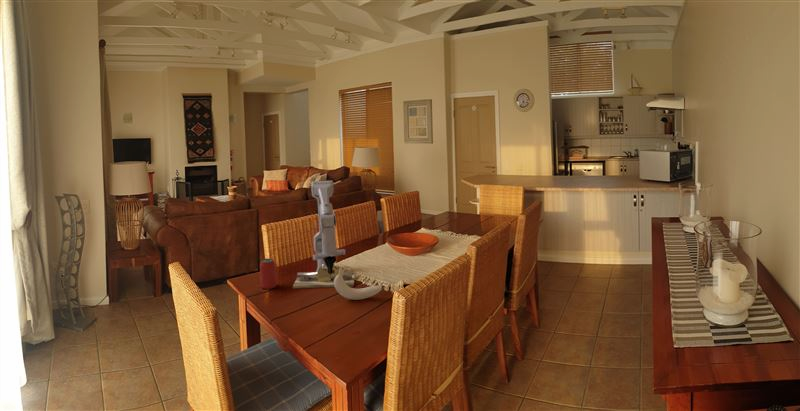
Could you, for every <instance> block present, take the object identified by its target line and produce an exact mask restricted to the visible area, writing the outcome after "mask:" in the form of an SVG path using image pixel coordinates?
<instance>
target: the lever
mask: <svg viewBox="0 0 800 411" xmlns="http://www.w3.org/2000/svg"><path fill="white" fill-rule="evenodd" d="M322 268H325V269H327V266H326V263H324V264H322ZM327 270H328V269H327ZM332 273H333V274H335V275H336V274H339V268H336V267H333V269H332Z"/></svg>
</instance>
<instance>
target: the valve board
mask: <svg viewBox="0 0 800 411" xmlns="http://www.w3.org/2000/svg"><path fill="white" fill-rule="evenodd" d="M334 279H335V278H333V280H331V281H321V282H318V280H317V279H310V280H309V281H304V279H297V278H295V281H294V283H293V285H292V289H316V288H318V289H321V288H322V289H323V288H324V289H325V288H335V286H334ZM355 280H356V273H352V278H348V279H347V280H344V282H345V283H346V285H347V286H349V287H351V288H354V285H355Z"/></svg>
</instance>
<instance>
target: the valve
mask: <svg viewBox="0 0 800 411" xmlns="http://www.w3.org/2000/svg"><path fill="white" fill-rule="evenodd" d="M317 268H318V267H317ZM296 274H297V275H296V276H297V277H296V279H304V281H309V280H310V279H317V280H318V282H321V281H331V280H333V278H335V277H336V276H337V275H338V274H336V275H335V274H333V273H332V274H329V273H328V270H327V269H325V268H322V267H319V268H318V271H317V272H316V271H307V272H305V271H304V272H301V271H300V272H296ZM352 274H353V271H351V270H347V271H345V270H344V272H343V274H342V276H343V280H347V279H348V278H352Z"/></svg>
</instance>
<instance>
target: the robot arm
mask: <svg viewBox="0 0 800 411" xmlns="http://www.w3.org/2000/svg"><path fill="white" fill-rule="evenodd" d="M310 187H311V196H312V198H315V199H316V201H317V211H318V212H317V213H318V232H317V233H315V234H314V236H313V251H314V252H315V254H313V255H312V260H313V261H316V262H317V269H316V271H315V272H317V271H318V268H319V267H322V264H324V263H326V266H327V269H328V273H329V274H332V269H333V267H334V268H336V267H335V266H336V265H335V263H336V261H337V256H342V255H343V256H345V255H346V249H344V248H343V249H337V241H336V228H337V217H336V214H335V212H334V208H333V207H334V206H333V204H332V203H331V202H330V198H331V197H333V193H334V192H335V191H334V187H335V186H334V181H333V180H331V179H330V180H312V181H311V183H310Z"/></svg>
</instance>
